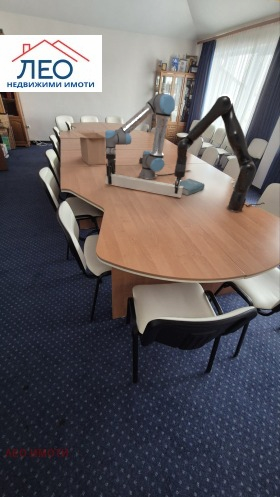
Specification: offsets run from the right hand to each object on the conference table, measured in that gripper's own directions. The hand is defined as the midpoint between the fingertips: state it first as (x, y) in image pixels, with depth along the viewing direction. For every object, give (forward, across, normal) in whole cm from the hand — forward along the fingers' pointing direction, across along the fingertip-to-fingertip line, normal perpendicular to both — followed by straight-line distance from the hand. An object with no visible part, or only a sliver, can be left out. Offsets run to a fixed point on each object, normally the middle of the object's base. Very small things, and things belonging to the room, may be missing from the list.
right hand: (176, 192), depth 169 cm
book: (+4, +20, -7) cm, 22 cm away
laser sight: (+4, +75, +44) cm, 87 cm away
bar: (+3, 0, +27) cm, 27 cm away
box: (+4, +55, +101) cm, 115 cm away
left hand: (+2, 0, +55) cm, 55 cm away
